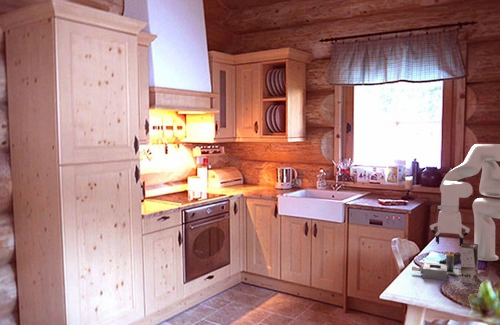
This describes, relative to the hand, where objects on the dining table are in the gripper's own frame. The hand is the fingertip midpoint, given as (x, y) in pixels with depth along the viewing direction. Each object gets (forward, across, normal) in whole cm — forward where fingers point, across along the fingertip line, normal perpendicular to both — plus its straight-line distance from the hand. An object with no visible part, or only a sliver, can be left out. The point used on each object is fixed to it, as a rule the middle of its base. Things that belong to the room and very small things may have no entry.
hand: (449, 244), depth 201 cm
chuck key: (+13, 0, +1) cm, 13 cm away
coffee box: (+14, +9, -8) cm, 18 cm away
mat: (+13, 0, +1) cm, 13 cm away
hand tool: (+14, +1, +15) cm, 20 cm away
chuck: (+14, -8, -9) cm, 18 cm away
